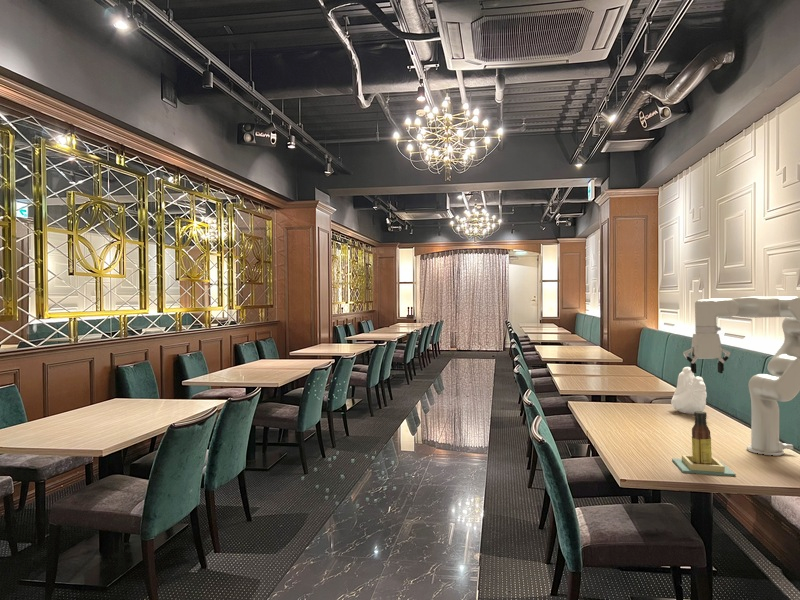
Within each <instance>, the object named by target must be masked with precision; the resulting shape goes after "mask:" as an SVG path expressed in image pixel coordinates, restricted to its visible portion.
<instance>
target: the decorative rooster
mask: <svg viewBox="0 0 800 600" xmlns="http://www.w3.org/2000/svg"><path fill="white" fill-rule="evenodd" d="M676 383H677V384H676V388H675V391H674V392H673V393H674V394H673V396H672V398H671V400H670V402H671V407H672V408H673V409H674V410H676V411H678V412H680V413H683V414H687V415H694V412H695V411H702V412H705V408H706V404H707V400H706V399H707V397H708V395H707V394H708V393H707V386H706V384H705V382H704V379H703V377H702V376H695V373H692V371H691V366H685V367H683V368H682V371H681V372H679V374H678V375H677V382H676Z"/></svg>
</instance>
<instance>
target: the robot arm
mask: <svg viewBox="0 0 800 600" xmlns="http://www.w3.org/2000/svg"><path fill="white" fill-rule="evenodd" d="M694 312H695V313H694V319H695V320H694V322H695V323H694V324H695V325H694V326H695V328H694V330H695V333H693V334H692V338H691V348H689V349H686V350H685V351H683V352H682V354H683V356H684V357H685V360H687V361H688V362H689V364H690V368H691V371H692V373H694V374H697V363H696V362H697V361H698V360H699V359H700V360H708V359H709V360H711V359H712V360H714V359H715V360H716V361H718V362H717V373H719V374H723V372H724V370H725V367H724V366H725V365H724V364H725V363H726V362H727V360H729V358H730V355H731V354H732V353H731V351H729V350H727V349H725V348H722V342H721V338H720V334H719V333H718V332H719V331H721V330H722V328H721V327H720V326H717V324H718V323H717V319H718V318H733V317H737V318H738V317H739V318H740V317H741V318H748V319H749V318H750V319H752V318H753V319H755V318H756V319H757V318H784V319H783V321H782V324H781V329H782V332H783V335H784V341H783V343H782V345H781V346H780V348H779V349H778V350H777V352H776V353H774V355H773V357H771V359H770V360H769V362H768V364H767V371H768V372H769V374H768V373H758V374H754V375H753V376H752V377H750V379H749V381H748V391H749V394H750V395H749V396H750V400H751V401H750V403H751V409H750V410H751V411H750V412H751V414H750V415H751V416H750V417H751V421H750V422H751V423H750V424H751V425H750V426H751V428H750V429H751V431H750V432H751V434H750V435H751V437H750V438H751V439H750V444H749V445H747V446H746V450H747V451H748V452H751V453H754V454H757V453H758V454H759V455H762V454H764V456H771V455H773V456H775V457H777V456H783V455H784V453H785V452H784V451H785V449H786V450H794V445H793V444H792V443H791V444H789V443H785V442H784V443H782V441H780V406H779V403H778V402H781V403H782V402H783V403H785V402H789V401H792V400H793V399H794V398H795V397H796V396H797V395H798V393H800V296H747V297H734V298H733V297H730V298H728V297H727V298H709V299H697V300H696V301H695V302H694ZM722 353H724V356H723V357H722V355H723V354H722ZM689 354H690V355H691V357H690V355H689ZM758 454H757V455H758Z"/></svg>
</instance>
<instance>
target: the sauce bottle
mask: <svg viewBox="0 0 800 600" xmlns="http://www.w3.org/2000/svg"><path fill="white" fill-rule="evenodd" d="M693 415H694V425H693V426H692V428H691V445H692V446H691V449H692V451H691V454H692V455H691V456H693V464H705V465H712V457H713V455H712V453H713V452H712V437H711V431H710V428H709V427H708V424H707V412H705V411H695V412H694V414H693Z"/></svg>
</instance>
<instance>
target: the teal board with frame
mask: <svg viewBox="0 0 800 600" xmlns="http://www.w3.org/2000/svg"><path fill="white" fill-rule="evenodd" d="M671 459H672V462H673V463H674V465H676V467H677V468H678V469H679V470H680V471H681V473H682V474H694V473H696V475H713V476H722V475H724V477H736V475H737V474H736V473H735V472H734V471H733V470H732V469H730V468H729V467H728V466H727V465H726V464H725V463H723V462H722V461H719V460H718V459H717V458H716V457H714V456H712V465H705V464H693V456H692V455H688V454H687V455H686V454H682V455H681V458H671Z"/></svg>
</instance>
